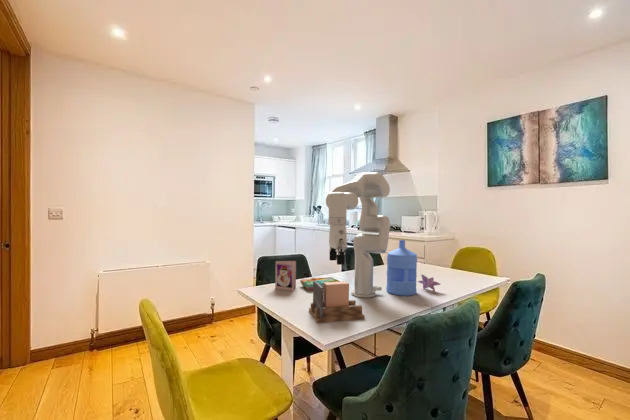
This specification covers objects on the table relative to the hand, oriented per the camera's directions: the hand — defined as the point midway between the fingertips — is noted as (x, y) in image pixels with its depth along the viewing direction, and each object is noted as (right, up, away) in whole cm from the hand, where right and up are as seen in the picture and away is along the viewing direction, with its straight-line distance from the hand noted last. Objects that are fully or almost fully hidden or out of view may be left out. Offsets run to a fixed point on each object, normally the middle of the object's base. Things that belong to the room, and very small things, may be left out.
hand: (336, 262), depth 131 cm
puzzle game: (-6, -22, +45) cm, 51 cm away
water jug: (+37, -23, +37) cm, 57 cm away
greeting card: (-25, -22, +41) cm, 53 cm away
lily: (+53, -23, +40) cm, 71 cm away
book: (0, -21, 0) cm, 21 cm away
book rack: (0, -22, 0) cm, 22 cm away
